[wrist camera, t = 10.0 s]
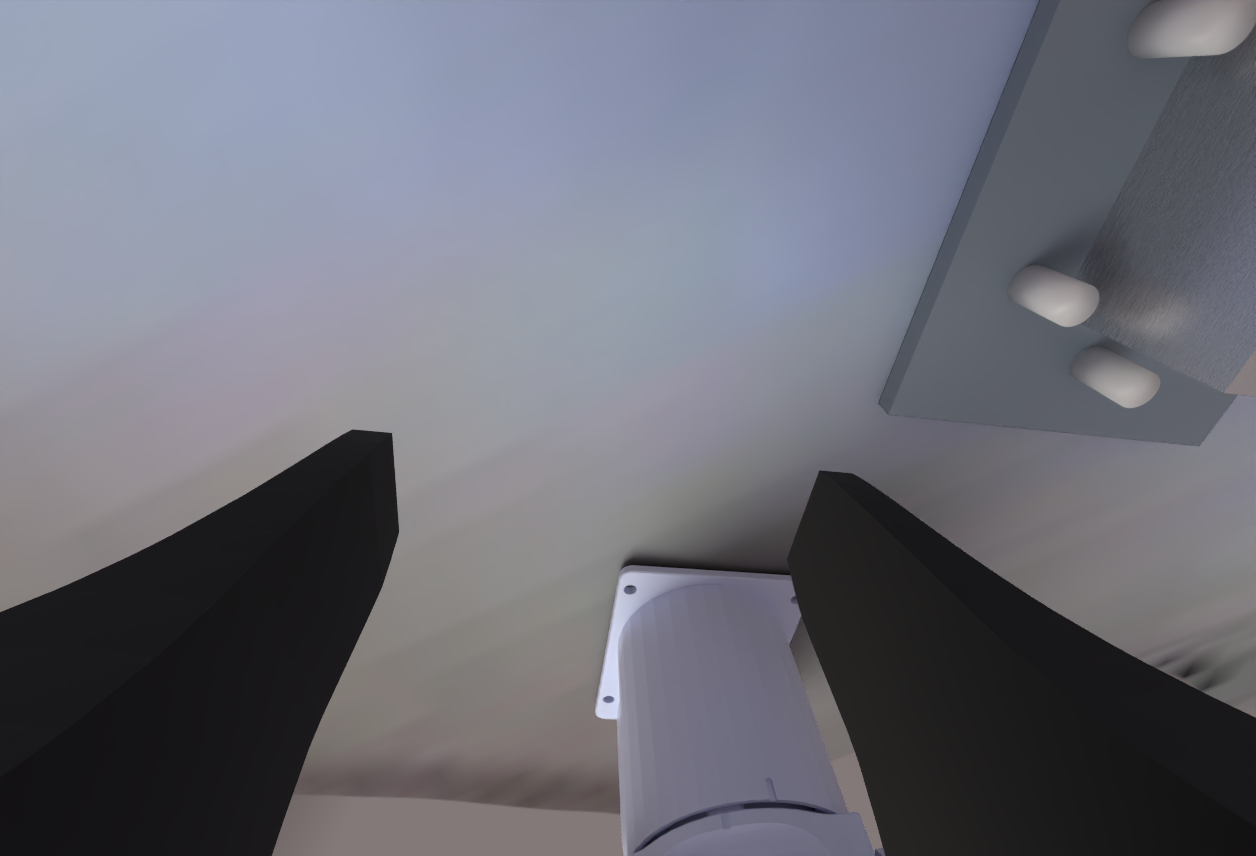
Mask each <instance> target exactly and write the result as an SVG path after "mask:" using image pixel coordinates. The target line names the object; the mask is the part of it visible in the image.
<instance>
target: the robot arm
mask: <svg viewBox="0 0 1256 856" xmlns="http://www.w3.org/2000/svg"><path fill="white" fill-rule="evenodd" d="M398 534H399V524H398V510H397V496H396V482H395V469H394V455H393V441H392V433H386V432H374V431H363V430H351V431H349V432H347V433H345V434H343V435H341V436H340V437H338V438H336V439H335V440H333V441H331V442H330V443H328V444H326V445H325V446H323V447H322V448H320V449H318V450H317V451H315V452H314V453H312V454H310V455H309V456H307V457H306V458H304V459H302V460H301V461H299V462H298V463H296V464H294V465H293V466H291V467H290V468H288V469H286V470H285V471H283V472H281V473H280V474H278V475H276V476H275V477H273V478H271V479H270V480H268V481H267V482H265V483H263V484H262V485H260V486H258V487H257V488H255V489H253V490H252V491H250V492H248V493H247V494H245V495H243V496H242V497H240V498H238V499H236V500H234V501H233V502H231V503H229V504H227V505H225V506H224V507H222V508H220V509H218V510H216V511H215V512H213V513H211V514H209V515H207V516H206V517H204V518H202V519H200V520H198V521H196V522H195V523H193V524H191V525H189V526H187V527H186V528H184V529H182V530H180V531H178V532H177V533H175V534H173V535H171V536H169V537H167V538H165V539H163V540H161V541H159V542H157V543H155V544H153V545H151V546H149V547H147V548H145V549H143V550H141V551H139V552H137V553H135V554H133V555H131V556H129V557H127V558H125V559H123V560H120V561H118V562H116V563H114V564H112V565H110V566H107V567H105V568H103V569H101V570H99V571H97V572H95V573H92V574H90V575H88V576H86V577H84V578H82V579H79V580H77V581H75V582H73V583H70V584H68V585H66V586H63V587H61V588H59V589H57V590H54V591H52V592H49V593H47V594H44V595H42V596H39V597H37V598H34V599H32V600H29V601H27V602H25V603H22V604H20V605H17V606H15V607H12V608H10V609H7V610H5V611H2V612H0V856H272V853H273V850H274V847H275V844H276V841H277V838H278V835H279V832H280V829H281V826H282V823H283V820H284V818H285V815H286V812H287V809H288V806H289V803H290V800H291V798H292V795H293V792H294V789H295V786H296V783H297V781H298V778H299V775H300V772H301V769H302V766H303V764H304V761H305V758H306V755H307V752H308V750H309V747H310V745H311V742H312V740H313V737H314V735H315V733H316V730H317V728H318V725H319V723H320V721H321V718H322V716H323V714H324V712H325V709H326V707H327V705H328V703H329V701H330V699H331V697H332V694H333V692H334V690H335V688H336V686H337V684H338V682H339V679H340V677H341V675H342V673H343V671H344V669H345V667H346V664H347V662H348V660H349V658H350V656H351V654H352V651H353V649H354V647H355V645H356V643H357V641H358V639H359V636H360V634H361V632H362V630H363V628H364V626H365V623H366V621H367V619H368V617H369V615H370V613H371V610H372V608H373V606H374V604H375V602H376V599H377V597H378V595H379V593H380V590H381V588H382V586H383V583H384V580H385V576H386V573H387V570H388V567H389V564H390V561H391V558H392V554H393V551H394V547H395V544H396V541H397V537H398ZM787 560H788V565H789V569H790V574H791V575H776V574H761V573H745V572H730V571H715V570H699V569H684V568H669V567H653V566H638V565H630V566H626V567H624V568H623V569H621V571H620V573H619V577H618V583H617V588H616V594H615V599H614V605H613V611H612V616H611V622H610V627H609V633H608V638H607V644H606V650H605V655H604V661H603V666H602V672H601V677H600V683H599V689H598V694H597V700H596V705H595V712H596V715H597V716H598V717H600V718H603V719H617V735H618V759H619V783H620V808H621V831H622V846H623V853H624V856H1256V718H1255V717H1253V716H1251V715H1249V714H1247V713H1245V712H1242V711H1240V710H1238V709H1236V708H1234V707H1232V706H1230V705H1228V704H1226V703H1224V702H1221V701H1219V700H1217V699H1215V698H1213V697H1211V696H1209V695H1207V694H1205V693H1203V692H1201V691H1199V690H1197V689H1195V688H1193V687H1191V686H1189V685H1187V684H1185V683H1184V682H1182V681H1180V680H1178V679H1176V678H1174V677H1172V676H1170V675H1168V674H1166V673H1164V672H1162V671H1160V670H1158V669H1156V668H1154V667H1152V666H1150V665H1148V664H1146V663H1144V662H1143V661H1141V660H1139V659H1137V658H1135V657H1133V656H1132V655H1130V654H1128V653H1126V652H1124V651H1122V650H1121V649H1119V648H1117V647H1115V646H1113V645H1111V644H1110V643H1108V642H1106V641H1104V640H1103V639H1101V638H1099V637H1098V636H1096V635H1094V634H1092V633H1091V632H1089V631H1087V630H1086V629H1084V628H1082V627H1080V626H1079V625H1077V624H1075V623H1074V622H1072V621H1070V620H1068V619H1067V618H1065V617H1063V616H1062V615H1060V614H1058V613H1056V612H1055V611H1053V610H1052V609H1050V608H1048V607H1047V606H1045V605H1044V604H1042V603H1040V602H1039V601H1037V600H1035V599H1034V598H1032V597H1031V596H1029V595H1028V594H1026V593H1025V592H1023V591H1022V590H1020V589H1019V588H1017V587H1016V586H1014V585H1013V584H1011V583H1010V582H1008V581H1007V580H1005V579H1003V578H1002V577H1000V576H999V575H997V574H996V573H994V572H993V571H991V570H990V569H988V568H987V567H986V566H984V565H983V564H981V563H980V562H978V561H977V560H975V559H974V558H973V557H971V556H970V555H968V554H967V553H965V552H964V551H963V550H961V549H960V548H958V547H957V546H956V545H954V544H953V543H951V542H950V541H949V540H947V539H946V538H944V537H943V536H942V535H940V534H939V533H937V532H936V531H935V530H933V529H932V528H931V527H929V526H928V525H927V524H925V523H924V522H922V521H921V520H920V519H918V518H917V517H916V516H914V515H913V514H911V513H910V512H909V511H907V510H906V509H905V508H903V507H902V506H900V505H899V504H898V503H896V502H895V501H894V500H892V499H891V498H889V497H888V496H886V495H885V494H884V493H882V492H881V491H879V490H878V489H876V488H875V487H873V486H872V485H871V484H869V483H867V482H866V481H864V480H863V479H861V478H859V477H858V476H856V475H854V474H852V473H840V472H829V471H819V473H818V476H817V479H816V482H815V484H814V487H813V490H812V492H811V495H810V498H809V501H808V503H807V506H806V509H805V512H804V514H803V517H802V520H801V522H800V525H799V528H798V531H797V533H796V536H795V539H794V541H793V544H792V547H791V550H790V552H789V555H788V558H787ZM628 585H633V587H626V586H628ZM794 596H796V597H794ZM801 615H802V618H803V621H804V623H805V626H806V629H807V631H808V634H809V636H810V639H811V641H812V644H813V646H814V649H815V652H816V654H817V657H818V659H819V662H820V664H821V666H822V669H823V671H824V674H825V676H826V679H827V681H828V684H829V686H830V689H831V691H832V694H833V696H834V699H835V701H836V704H837V706H838V709H839V711H840V714H841V716H842V719H843V721H844V724H845V726H846V729H847V731H848V734H849V736H850V739H851V742H852V745H853V748H854V750H855V753H856V756H857V759H858V762H859V765H860V768H861V772H862V775H863V778H864V782H865V785H866V788H867V792H868V796H869V799H870V802H871V806H872V809H873V812H874V816H875V820H876V823H877V826H878V830H879V834H880V838H881V841H882V845H883V848H879V849H875V853H874V851H873V848H872V845H871V843H870V840H869V837H868V835H867V832H866V829H865V827H864V824H863V821H862V819H861V816H860V814H859V813H857V812H852V813H849V812H848V809H847V807H846V803H845V800H844V797H843V795H842V792H841V789H840V786H839V784H838V781H837V778H836V775H835V772H834V770H833V767H832V764H831V761H830V758H829V755H828V753H827V750H826V747H825V744H824V741H823V739H822V736H821V733H820V730H819V728H818V725H817V722H816V719H815V716H814V714H813V711H812V708H811V705H810V702H809V700H808V697H807V694H806V691H805V688H804V686H803V683H802V680H801V677H800V674H799V672H798V669H797V666H796V663H795V660H794V658H793V655H792V652H791V649H790V646H789V645H790V642H791V640H792V637H793V635H794V632H795V630H796V628H797V625H798V623H799V620H800V618H801Z"/></svg>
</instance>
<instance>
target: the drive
mask: <svg viewBox="0 0 1256 856" xmlns="http://www.w3.org/2000/svg"><path fill="white" fill-rule="evenodd" d="M1075 279H1077V280H1080V281H1082V282H1085V283H1087V284H1090V285H1092V286H1094V287H1095V288H1096V289H1097V290H1098V292H1099V303H1098V306H1097V308H1096V309H1095V311H1094V312H1093V314H1092V315H1091V316H1090V317H1089V318H1088V319H1087V320H1085V321H1084V322H1082V323H1080V324H1081V325H1083V326H1085V327H1088V328H1090V329H1092V330H1094V331H1096V332H1098V333H1100V334H1102V335H1104V336H1106V337H1108V338H1110V339H1112V340H1115V341H1117V342H1119V343H1121V344H1123V345H1125V346H1127V347H1129V348H1131V349H1133V350H1135V351H1137V352H1139V353H1142V354H1144V355H1146V356H1148V357H1150V358H1152V359H1154V360H1156V361H1158V362H1160V363H1162V364H1164V365H1167V366H1169V367H1171V368H1173V369H1175V370H1177V371H1179V372H1181V373H1183V374H1185V375H1187V376H1189V377H1191V378H1194V379H1196V380H1198V381H1200V382H1202V383H1204V384H1206V385H1208V386H1210V387H1212V388H1214V389H1216V390H1219V391H1221V392H1223V393H1227V394H1237V395H1246V396H1255V397H1256V23H1255V25H1254V27H1253V29H1252V30H1251V32H1250V33H1249V35H1248V36H1247V37H1246V38H1245V39H1244V41H1243V42H1242V43H1240V44H1239V45H1238V46H1237V47H1235V48H1234V49H1232V50H1231V51H1229V52H1227V53H1224V54H1220V55H1206V56H1191V57H1190V59H1189V61H1188V63H1187V65H1186V67H1185V68H1184V70H1183V72H1182V74H1181V76H1180V78H1179V80H1178V82H1177V84H1176V86H1175V88H1174V90H1173V91H1172V93H1171V95H1170V97H1169V99H1168V101H1167V103H1166V105H1165V107H1164V109H1163V111H1162V113H1161V115H1160V116H1159V118H1158V120H1157V122H1156V124H1155V126H1154V128H1153V130H1152V132H1151V134H1150V136H1149V138H1148V139H1147V141H1146V143H1145V145H1144V147H1143V149H1142V151H1141V153H1140V155H1139V157H1138V159H1137V161H1136V162H1135V164H1134V166H1133V168H1132V170H1131V172H1130V174H1129V176H1128V178H1127V180H1126V182H1125V184H1124V185H1123V187H1122V189H1121V191H1120V193H1119V195H1118V197H1117V199H1116V201H1115V203H1114V205H1113V207H1112V208H1111V210H1110V212H1109V214H1108V216H1107V218H1106V220H1105V222H1104V224H1103V226H1102V228H1101V230H1100V231H1099V233H1098V235H1097V237H1096V239H1095V241H1094V243H1093V245H1092V247H1091V249H1090V251H1089V253H1088V255H1087V256H1086V258H1085V260H1084V262H1083V264H1082V266H1081V268H1080V270H1079V272H1078V274H1077V276H1076V278H1075Z"/></svg>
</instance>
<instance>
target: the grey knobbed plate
mask: <svg viewBox="0 0 1256 856" xmlns="http://www.w3.org/2000/svg"><path fill="white" fill-rule="evenodd" d="M1255 23H1256V0H1040V1H1039V4H1038V6H1037V9H1036V11H1035V14H1034V16H1033V19H1032V21H1031V24H1030V26H1029V29H1028V31H1027V34H1026V36H1025V39H1024V41H1023V44H1022V46H1021V49H1020V51H1019V54H1018V56H1017V59H1016V61H1015V64H1014V66H1013V69H1012V71H1011V74H1010V76H1009V79H1008V81H1007V84H1006V86H1005V89H1004V91H1003V94H1002V96H1001V99H1000V101H999V104H998V106H997V109H996V111H995V114H994V116H993V119H992V121H991V124H990V126H989V129H988V131H987V134H986V136H985V139H984V141H983V144H982V146H981V149H980V151H979V154H978V156H977V159H976V161H975V164H974V166H973V169H972V171H971V174H970V176H969V179H968V181H967V184H966V186H965V189H964V191H963V194H962V196H961V199H960V201H959V204H958V206H957V209H956V211H955V214H954V216H953V219H952V221H951V224H950V226H949V229H948V231H947V234H946V236H945V239H944V241H943V244H942V246H941V249H940V251H939V254H938V256H937V259H936V261H935V264H934V266H933V269H932V271H931V274H930V276H929V279H928V281H927V284H926V286H925V289H924V291H923V293H922V296H921V298H920V301H919V303H918V306H917V308H916V311H915V313H914V316H913V318H912V321H911V323H910V326H909V328H908V331H907V333H906V336H905V338H904V341H903V343H902V346H901V348H900V351H899V353H898V356H897V358H896V361H895V363H894V366H893V368H892V371H891V373H890V376H889V378H888V381H887V383H886V386H885V388H884V391H883V393H882V396H881V398H880V401H879V403H878V404H879V405H880V406H881V407H882V408H883V409H884V410H885V411H886V413H887V414H888V415H896V416H906V417H916V418H925V419H935V420H945V421H955V422H965V423H975V424H984V425H994V426H1004V427H1014V428H1024V429H1034V430H1044V431H1053V432H1063V433H1073V434H1083V435H1093V436H1103V437H1112V438H1122V439H1132V440H1142V441H1152V442H1162V443H1172V444H1181V445H1191V446H1200V445H1201V444H1202V442H1203V441H1204V439H1205V438H1206V437H1207V435H1208V434H1209V433H1210V431H1211V430H1212V429H1213V427H1214V426H1215V425H1216V423H1217V422H1218V421H1219V419H1220V418H1221V417H1222V415H1223V414H1224V413H1225V411H1226V410H1227V408H1228V407H1229V406H1230V404H1231V403H1232V402H1233V400H1234V399H1235V398H1236V396H1237V394H1227V393H1223V392H1221V391H1219V390H1216V389H1214V388H1212V387H1210V386H1208V385H1206V384H1204V383H1202V382H1200V381H1198V380H1196V379H1194V378H1191V377H1189V376H1187V375H1185V374H1183V373H1181V372H1179V371H1177V370H1175V369H1173V368H1171V367H1169V366H1167V365H1164V364H1162V363H1160V362H1158V361H1156V360H1154V359H1152V358H1150V357H1148V356H1146V355H1144V354H1142V353H1139V352H1137V351H1135V350H1133V349H1131V348H1129V347H1127V346H1125V345H1123V344H1121V343H1119V342H1117V341H1115V340H1112V339H1110V338H1108V337H1106V336H1104V335H1102V334H1100V333H1098V332H1096V331H1094V330H1092V329H1090V328H1088V327H1085V326H1083V325H1081V324H1080V323H1082V322H1084V321H1085V320H1087V319H1088V318H1089V317H1090V316H1091V315H1092V314H1093V312H1094V311H1095V309H1096V308H1097V306H1098V303H1099V292H1098V290H1097V289H1096V288H1095V287H1094V286H1092V285H1090V284H1087V283H1085V282H1082V281H1080V280H1077V279H1075V278H1076V276H1077V274H1078V272H1079V270H1080V268H1081V266H1082V264H1083V262H1084V260H1085V258H1086V256H1087V255H1088V253H1089V251H1090V249H1091V247H1092V245H1093V243H1094V241H1095V239H1096V237H1097V235H1098V233H1099V231H1100V230H1101V228H1102V226H1103V224H1104V222H1105V220H1106V218H1107V216H1108V214H1109V212H1110V210H1111V208H1112V207H1113V205H1114V203H1115V201H1116V199H1117V197H1118V195H1119V193H1120V191H1121V189H1122V187H1123V185H1124V184H1125V182H1126V180H1127V178H1128V176H1129V174H1130V172H1131V170H1132V168H1133V166H1134V164H1135V162H1136V161H1137V159H1138V157H1139V155H1140V153H1141V151H1142V149H1143V147H1144V145H1145V143H1146V141H1147V139H1148V138H1149V136H1150V134H1151V132H1152V130H1153V128H1154V126H1155V124H1156V122H1157V120H1158V118H1159V116H1160V115H1161V113H1162V111H1163V109H1164V107H1165V105H1166V103H1167V101H1168V99H1169V97H1170V95H1171V93H1172V91H1173V90H1174V88H1175V86H1176V84H1177V82H1178V80H1179V78H1180V76H1181V74H1182V72H1183V70H1184V68H1185V67H1186V65H1187V63H1188V61H1189V59H1190V57H1191V56H1206V55H1220V54H1224V53H1227V52H1229V51H1231V50H1232V49H1234V48H1235V47H1237V46H1238V45H1239V44H1240V43H1242V42H1243V41H1244V39H1245V38H1246V37H1247V36H1248V35H1249V33H1250V32H1251V30H1252V29H1253V27H1254V25H1255Z"/></svg>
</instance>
